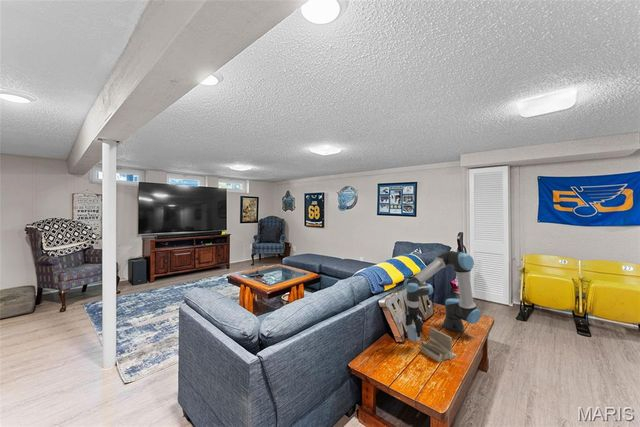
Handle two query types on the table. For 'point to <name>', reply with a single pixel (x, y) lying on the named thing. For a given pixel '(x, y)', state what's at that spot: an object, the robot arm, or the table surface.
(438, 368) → the table surface
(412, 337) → the grey rectangular block
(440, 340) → the grey slotted stand
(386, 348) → the table surface
